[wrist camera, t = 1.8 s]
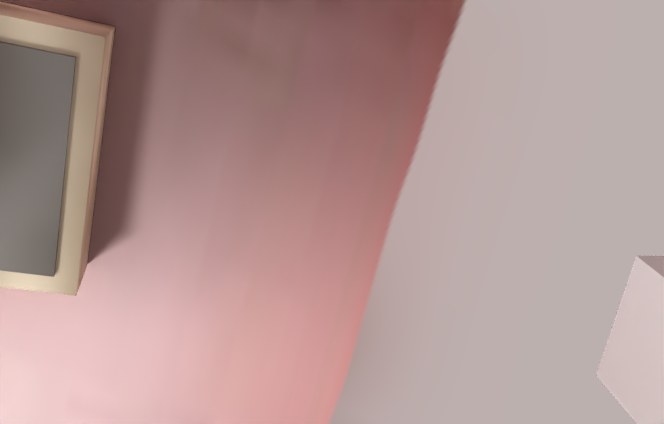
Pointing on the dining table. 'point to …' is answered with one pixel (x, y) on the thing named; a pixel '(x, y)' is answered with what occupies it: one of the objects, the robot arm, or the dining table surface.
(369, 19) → the dining table surface
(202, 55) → the dining table surface
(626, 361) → the robot arm
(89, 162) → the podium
